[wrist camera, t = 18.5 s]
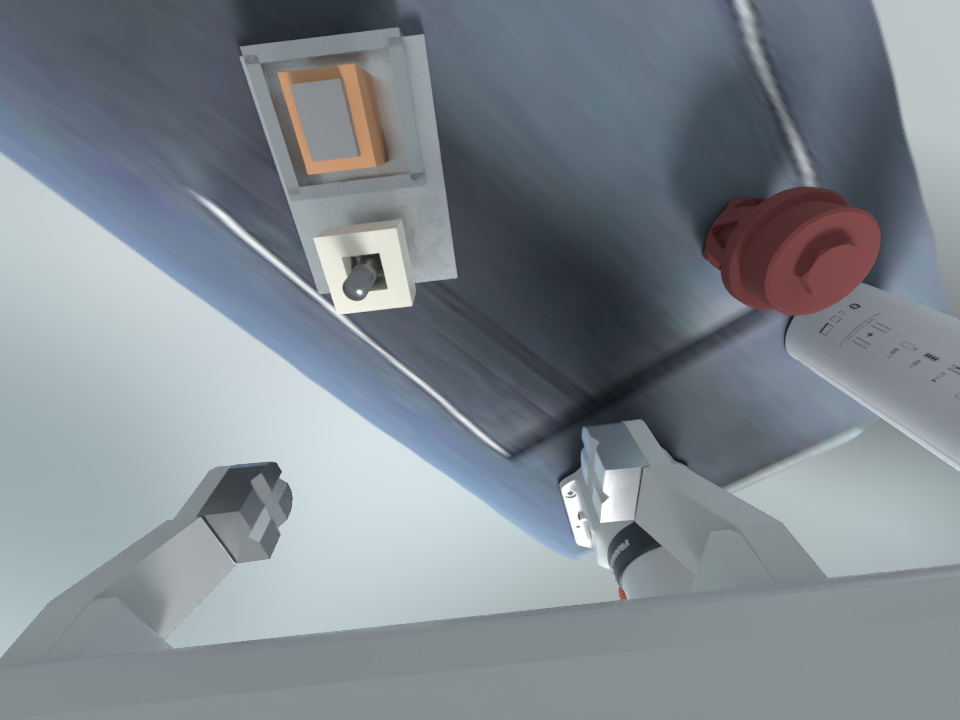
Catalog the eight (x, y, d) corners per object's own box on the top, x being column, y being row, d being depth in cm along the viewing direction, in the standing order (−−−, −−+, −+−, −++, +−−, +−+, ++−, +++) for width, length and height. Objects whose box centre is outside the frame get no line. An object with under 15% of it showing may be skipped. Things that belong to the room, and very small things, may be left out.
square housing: (416, 290, 36) (412, 305, 33) (347, 298, 36) (337, 314, 33) (402, 218, 32) (396, 228, 29) (326, 227, 33) (313, 237, 29)
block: (371, 75, 30) (350, 60, 24) (389, 161, 33) (373, 167, 27) (308, 82, 30) (270, 70, 24) (331, 168, 33) (303, 176, 27)
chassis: (457, 274, 40) (457, 321, 30) (322, 289, 40) (277, 342, 30) (425, 37, 30) (408, -10, 20) (246, 59, 30) (142, 23, 20)
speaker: (800, 377, 49) (1093, 586, 26) (766, 325, 45) (1078, 521, 22) (889, 321, 45) (1313, 508, 23) (860, 260, 41) (1343, 414, 19)
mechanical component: (683, 291, 42) (679, 197, 37) (778, 263, 41) (788, 162, 36) (759, 345, 31) (769, 224, 26) (891, 309, 30) (927, 175, 25)
